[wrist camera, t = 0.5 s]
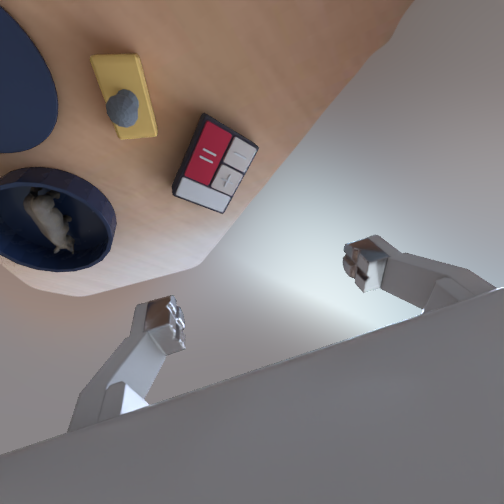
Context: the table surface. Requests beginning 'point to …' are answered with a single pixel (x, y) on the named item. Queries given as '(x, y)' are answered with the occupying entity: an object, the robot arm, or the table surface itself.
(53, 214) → the rhino figurine
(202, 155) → the calculator
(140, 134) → the rubber stamp
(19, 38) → the pan lid
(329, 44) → the table surface
